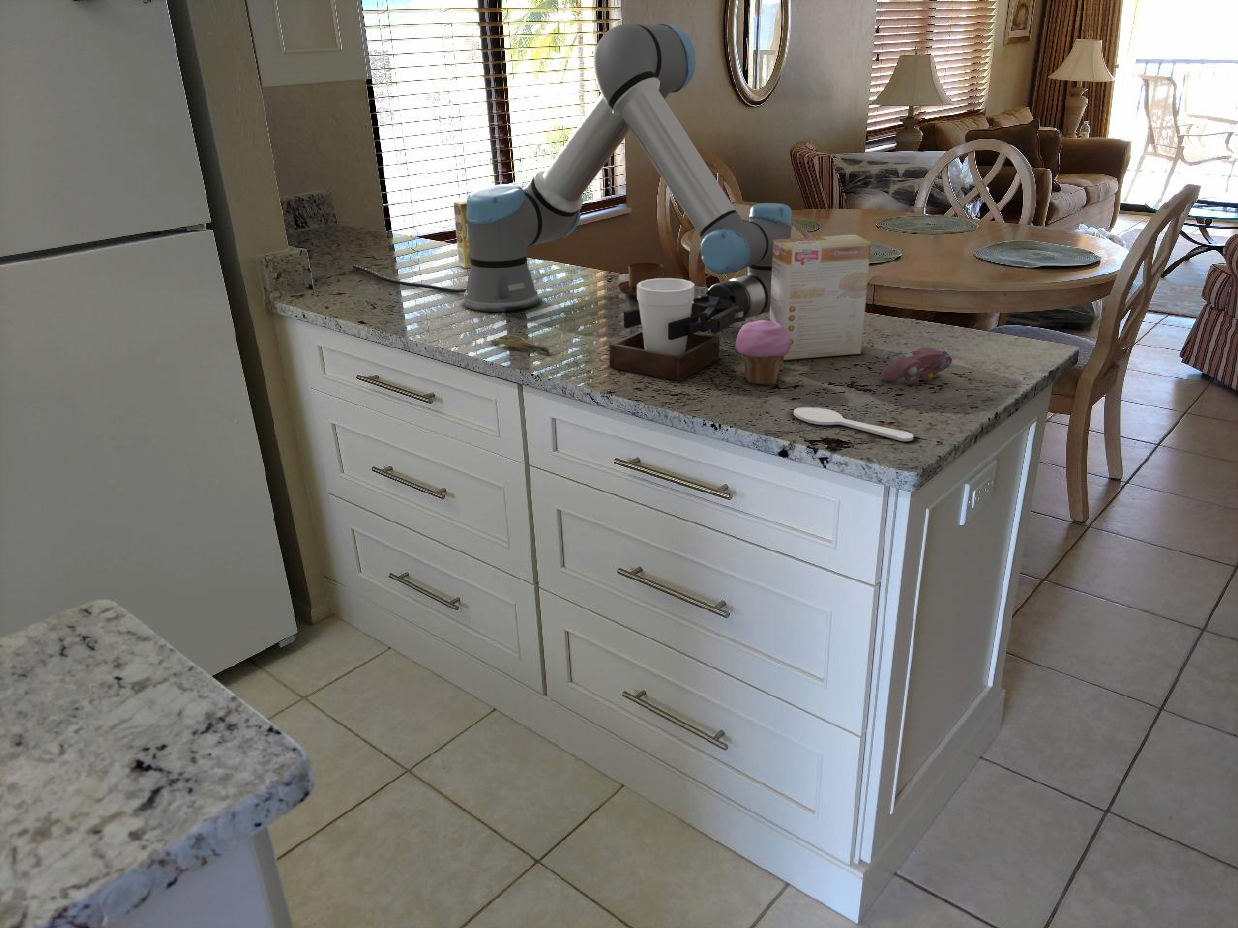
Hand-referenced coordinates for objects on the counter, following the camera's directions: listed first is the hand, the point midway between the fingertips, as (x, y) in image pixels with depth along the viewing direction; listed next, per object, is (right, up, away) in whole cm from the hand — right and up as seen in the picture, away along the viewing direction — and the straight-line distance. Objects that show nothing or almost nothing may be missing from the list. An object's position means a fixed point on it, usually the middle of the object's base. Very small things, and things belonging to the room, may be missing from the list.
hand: (647, 325), depth 157 cm
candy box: (-39, +26, +79) cm, 92 cm away
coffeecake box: (+30, -3, +11) cm, 32 cm away
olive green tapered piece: (-22, -2, +15) cm, 26 cm away
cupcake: (+18, -10, -3) cm, 21 cm away
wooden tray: (+3, -6, +6) cm, 9 cm away
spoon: (+28, -17, -21) cm, 39 cm away
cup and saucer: (+1, +14, +50) cm, 52 cm away
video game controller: (+43, -10, -4) cm, 44 cm away
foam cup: (+3, -5, +6) cm, 8 cm away
